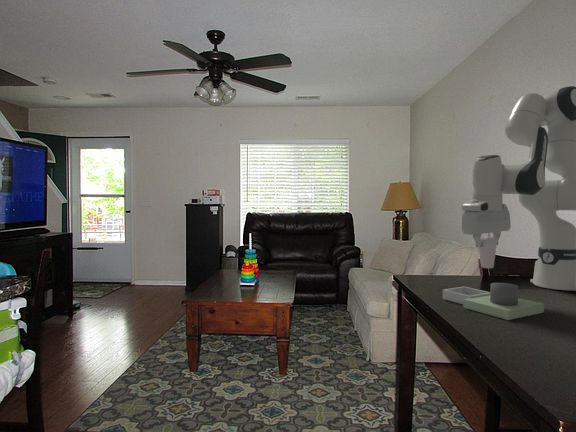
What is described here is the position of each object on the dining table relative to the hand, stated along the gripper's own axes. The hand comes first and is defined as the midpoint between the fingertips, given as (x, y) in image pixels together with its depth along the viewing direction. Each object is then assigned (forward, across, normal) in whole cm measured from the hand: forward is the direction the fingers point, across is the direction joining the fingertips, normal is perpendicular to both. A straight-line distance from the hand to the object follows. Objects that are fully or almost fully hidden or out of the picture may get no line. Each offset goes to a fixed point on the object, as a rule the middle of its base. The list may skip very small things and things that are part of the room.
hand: (486, 246), depth 134 cm
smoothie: (+7, 0, 0) cm, 7 cm away
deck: (+16, +12, +9) cm, 22 cm away
